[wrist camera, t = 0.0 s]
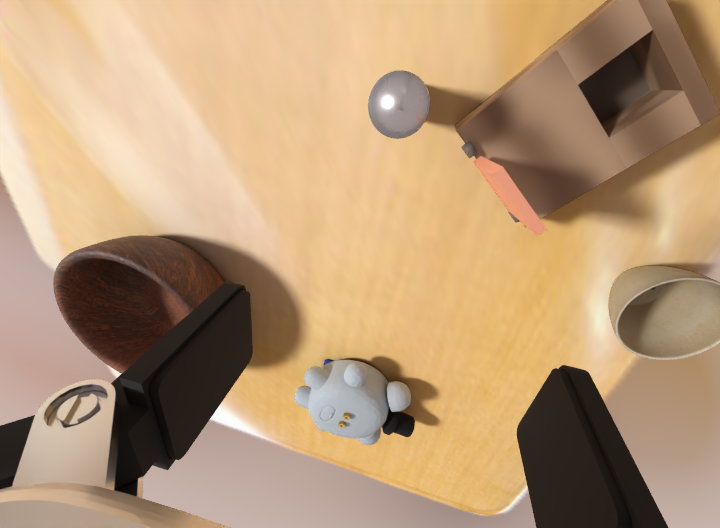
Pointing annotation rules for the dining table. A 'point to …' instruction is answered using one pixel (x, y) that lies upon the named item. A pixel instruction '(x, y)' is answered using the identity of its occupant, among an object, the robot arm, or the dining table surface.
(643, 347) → the beige bowl
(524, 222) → the plate
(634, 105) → the block
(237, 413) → the dining table surface
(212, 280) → the wooden bowl
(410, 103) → the pin
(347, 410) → the figurine
